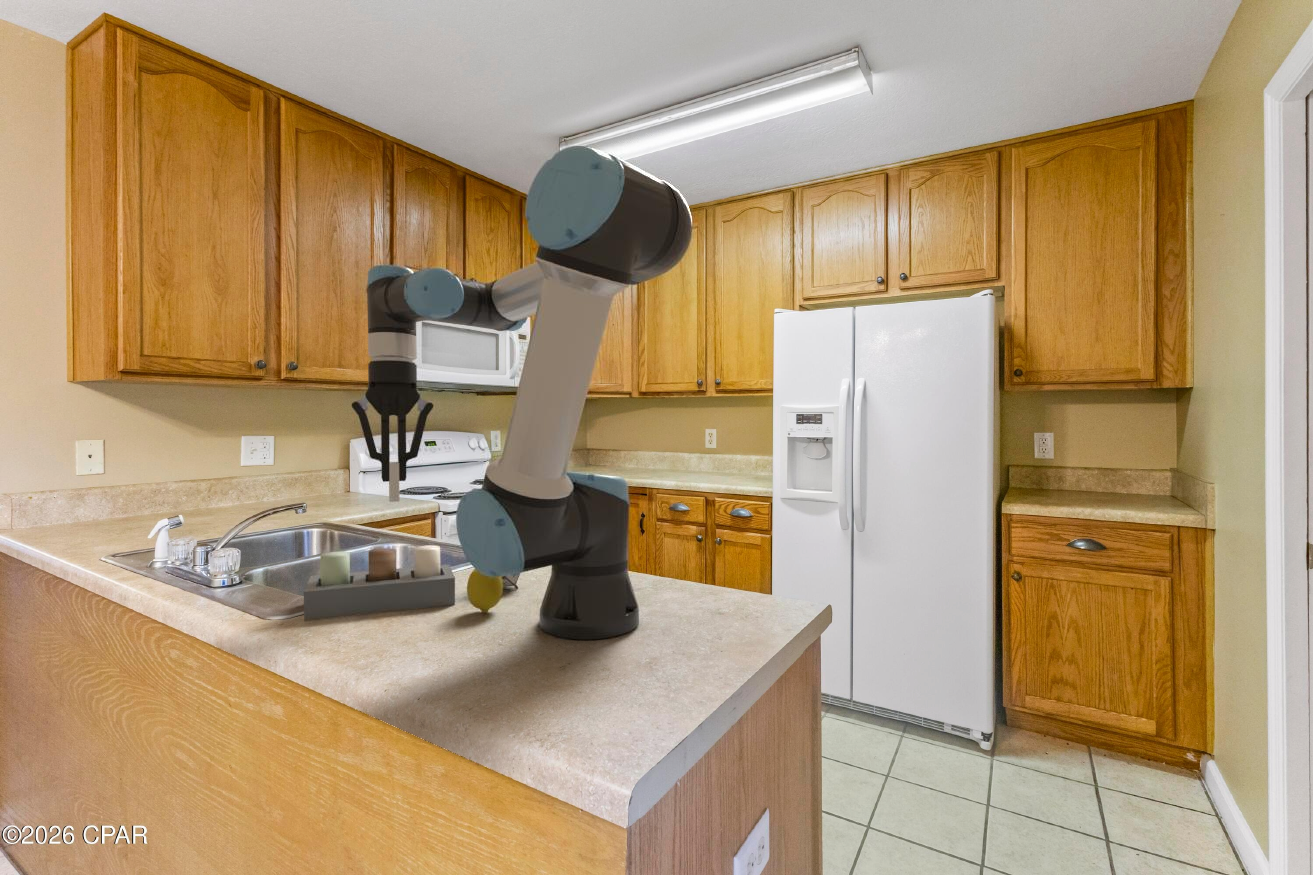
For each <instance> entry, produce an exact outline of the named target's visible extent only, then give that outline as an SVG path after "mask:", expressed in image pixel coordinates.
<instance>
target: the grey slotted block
mask: <svg viewBox="0 0 1313 875" xmlns="http://www.w3.org/2000/svg"><path fill="white" fill-rule="evenodd" d="M454 605H456V578H455V575H454V572H453V571H452V568H451V566H450V564H449V563H447V564H440V576H430V577H419V578H414V566H412V567H402V568H401V567H400V568H396V580H385V581H374V582H369V570H365V571H352V572H351V571H350V584H340V585H329V586H321V574H316V575H310V577H309V579H308V580H307V584H306V586H305V588H304V590H303V621H304V622H305V621H315V620H316V621H317V620H324V619H333V618H343V617H345V618H346V617H352V616H361V615H362V616H363V615H372V614H379V613H380V614H381V613H388V612H389V613H390V612H399V611H409V610H416V609H417V610H418V609H419V610H420V609H428V608H436V607H437V608H438V607H445V606H454Z"/></svg>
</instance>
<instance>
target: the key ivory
mask: <svg viewBox="0 0 1313 875" xmlns="http://www.w3.org/2000/svg"><path fill="white" fill-rule="evenodd" d="M440 565H441V546H439V545H432V544H431V545H430V544H429V545H427V544H426V545H419V546H415V547H414V548H413V567H414V578H419V577H430V576H440Z"/></svg>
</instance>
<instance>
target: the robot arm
mask: <svg viewBox="0 0 1313 875" xmlns="http://www.w3.org/2000/svg"><path fill="white" fill-rule="evenodd" d="M525 202H526V203H525V220H527V221H528V222H527V224H526V226H527V227H526V228H527V230H528V233H529V234H530V236H531V237H532V239H533V240H534V241H535V242H536V243H537V244H538V246H537V252H536V254H535V262H532V263H531V264H528V265H526V266H524V267H521V268H520V269H517V270H516V271H513V272H510V273H508V274H507V275H504V276H503V277H500V278H498V279H496V280H493V281H491V282H482V281H476V280H472V279H471V280H469V279H465V278H460V277H458V276H456V275H455V274H454V273H452V272H451V271H450V270H448V269H446V268H442V267H432V268H431V267H426V268H423V269H419V270H415V272H414V270H413V269H411V268H409V267H406V266H401V265H394V264H383V265H379V264H377V265H373V266H372V267H370V268H369V270H368V271H367V284H366V290H365V291H366V299H367V300H366V303H367V306H366V307H367V310H366V311H367V357H368V358H369V359H371V360H370V361H369V363H368V364H367V366H368V368H367V370H368V371H367V372H368V374H367V377H368V378H367V379H368V387H367V389H366V391H365V395H364V396H363V397H362V398H359V400H357V401H353V402H352V403H351V408H352V409H353V411H355V413H356V415H357V416H358V419H359V421H360V422H359V423H360V427H361V429H362V433H363V437H364V440H365V443H366V448H367V451H368V454H369V457H370V459H371V460H376V461H379V462H380V465H381V480H382V481H383V482H388V495H389V496H388V500H389V503H393V502H394V503H395V502H398V503H399V502H400V482H406V479H407V462H408V461H409V460H412V459H415V458H417V457H418V456H419V452H420V447H421V443H422V438H423V434H424V431H425V427H426V422H427V418H428V415H430V413H431V411H432V410H433V408H434V404H433V403H432V402H429V401H427V400H425V399H424V398H422V397H421V392H420V390H419V389H418V383H417V382H418V379H417V378H418V377H417V376H418V372H417V371H418V369H417V368H418V366H417V364H416V362H414V361H415V360H416V359H417V355H418V354H417V353H418V352H417V323H418V322H425V321H426V322H427V321H428V322H429V321H430V322H438V323H444V324H453V325H460V326H467V327H474V328H481V329H488V330H494V331H498V332H504V331H505V332H515V331H519V330H520V329H521V328H522V327H523V325H524V324H526V322H527V320H528V318H529V317H531V316H534V315H535V316H534V320H533V324H532V328H531V333H530V335H529V336H530V337H529V341H528V344H527V349H526V352H525V358H524V362H523V366H522V370H521V374H520V378H519V381H518V386H517V391H516V395H515V399H514V403H513V407H512V412H511V416H510V419H509V424H508V428H507V431H506V432H507V433H506V436H505V442H504V446H503V450H502V452H501V453H502V454H501V457H500V458H498V459H496V460H494V461H492V462H490V463H489V464H488V465H487V466H486V469H485V474H484V477H483V482H482V486H481V488H476V487H475V488H473V489H471V490H468V491H467V492H466V494H464V495H462V497H461V498H460V500H459V502H458V505H457V509H456V514H455V516H456V517H455V523H456V524H455V526H456V532H457V537H458V541H459V543H460V545H461V549H462V552H463V553H464V556H465V558H466V559H467V560H468V562H469V564H470V565H471V566H472V567H473V568H474V569H476V570H477V571H479V572H480V573H482V574H483V575H486V576H489V577H501V576H507V575H511V576H516V575H518V574H520V575H521V574H522V573H525V572H529V571H534V570H538V569H541V568H546V567H550V566H551V574H550V577H549V581H548V583H547V587H546V590H545V592H544V595H543V599H542V602H541V605H540V608H539V627H540V629H541V630H542V631H544V632H545V633H547V634H549V635H552V636H555V637H558V638H563V639H571V640H600V639H607V638H614V637H619V636H622V635H624V634H625V635H626V634H627V633H630V632H631V631H633V630H634V629H635V630H636V628H637V627H638V626H639V623H640V608H639V604H638V603H639V602H638V601H637V598H636V595H635V594H636V593H635V591H634V587H633V585H632V581H631V579H630V578H631V577H630V574H629V533H630V531H629V527H630V524H629V523H630V506H631V504H630V503H631V502H630V500H629V498H630V497H629V485H628V483H627V481H626V479H624V478H623V477H621V476H617V475H606V474H599V473H598V474H597V473H596V474H595V473H586V472H585V473H584V472H576V471H575V472H574V471H567V469H568V466H569V463H570V462H569V461H570V459H571V455H572V452H573V451H572V450H573V447H574V444H575V440H576V436H577V432H578V430H579V427H580V426H579V425H580V421H581V418H582V414H583V411H584V410H583V409H584V406H585V404H586V399H587V396H588V392H589V388H590V385H591V380H592V377H593V373H594V370H595V366H596V361H597V359H598V355H599V351H600V347H601V344H602V339H603V336H604V333H605V330H606V327H607V326H606V325H607V322H608V318H609V314H610V310H611V308H612V307H611V306H612V303H613V299H614V298H615V296H616V295H618V294H619V293H621V292H623V291H625V290H627V289H628V288H629V287H630V286H636V285H639V284H642V283H644V282H645V283H646V282H647V281H651V280H652V279H655V278H658V277H660V276H662V275H665V274H666V273H668V272H669V271H670V270H672V269H674V268H675V267H676V266H677V265H678V264H679V263H680V261H682V259H683V258H684V256H685V255H686V253H687V251H688V250H689V247H690V244H691V240H692V234H693V219H692V215H691V211H690V208H689V205H688V203H687V201H686V199H685V198H684V196H683V195H682V194H681V193H680V191H679V190H678V189H677V188H675V187H674V185H672V184H670V183H669V182H667V181H665V180H663V179H661V178H659V177H655V176H654V175H652V174H650V173H648V172H645V171H644V170H642V169H640V168H638V167H636V166H635V165H632V164H630V163H629V162H626V161H624V160H622V159H621V158H619V157H617V156H615V155H614V154H610V153H608V152H604V151H601V150H598V149H595V148H592V147H589V146H585V145H572V146H568V147H565V148H563V149H561V150H560V151H558V152H555V153H554V154H553V156H552V157H551V158H550V159H547V160H546V161H545V163H543V165H542V166H541V167H540V169H539V170H538V172H537V173H536V174H535V176H534V178H533V181H532V183H531V184H530V186H529V190H528V193H527V196H526V201H525ZM368 403H369V404H370V405H371V407H373V408H374V410H375V412H377V414H378V415H379V416H380V450H381V451H380V452H379V451H377V447H376V444H375V441H374V440H375V439H374V436H373V434H372V430H371V429H372V428H371V426H370V422H369V419H368V416H367V411H368V409H369V406H368ZM416 404H417V411H418V412H419V413H418V417H417V420H416V424H415V429H414V433H413V436H412V440H411V444H410V447H409V449H410V450H409V451H407V415H409V413H411V410H412V409H413V408H414V407H415V406H416ZM391 416H394V417H395V416H396V417H397V418H396V421H397V428H396V429H397V461H390V459H391V457H390V456H391V454H390V449H391V447H390V444H391V443H390V417H391Z"/></svg>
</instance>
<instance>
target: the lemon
mask: <svg viewBox="0 0 1313 875" xmlns="http://www.w3.org/2000/svg"><path fill="white" fill-rule="evenodd" d="M503 589H504V587H503V583H502V578H501V577H489V576H486V575H483V574H482V573H480V572H479V571H477V570H476V569H475V568H474V569H473V570H472V571H471V573H470V574H469V577H468V580H467V585H466V592H467V598H468V601H469V602H470V604H471V606H473V607H474V608H476V609H478V610H480V611H481V612H482V613H483V614H484V613H488V611H489V610H490V609H492V608H494V607H495V606H496V605H498V603H499V602H500V601H501V598H502V595H503Z"/></svg>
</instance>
